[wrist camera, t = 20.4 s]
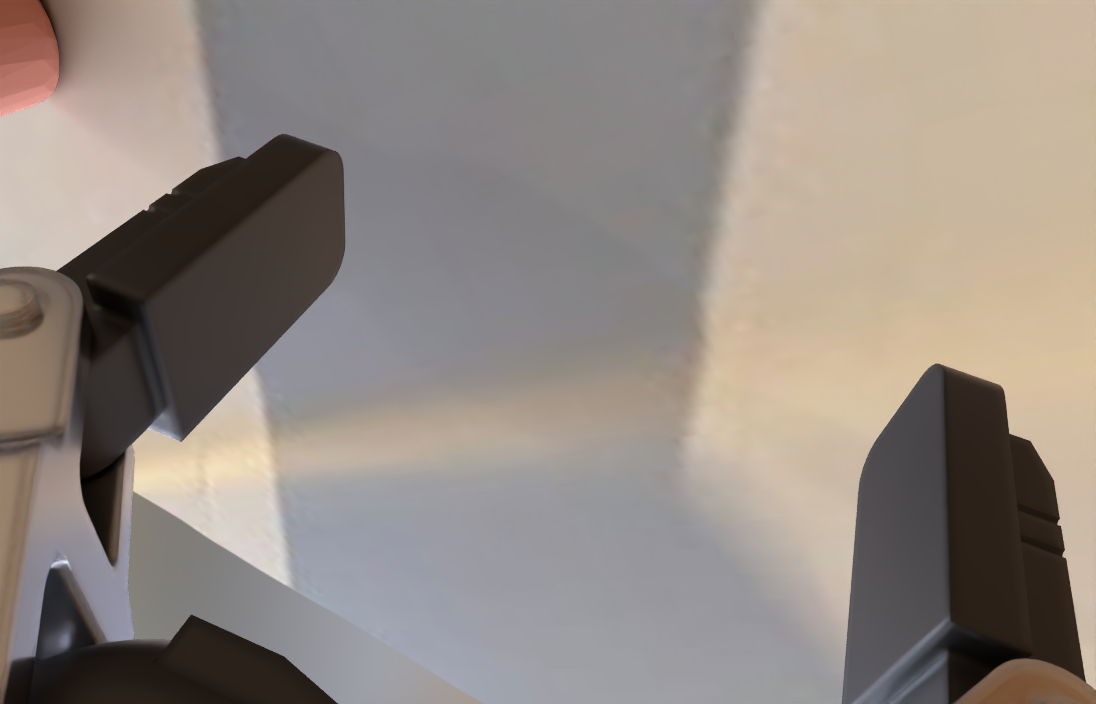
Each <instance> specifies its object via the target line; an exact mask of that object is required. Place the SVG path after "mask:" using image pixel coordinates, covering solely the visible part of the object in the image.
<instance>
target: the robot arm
mask: <svg viewBox="0 0 1096 704" xmlns="http://www.w3.org/2000/svg"><path fill="white" fill-rule="evenodd" d="M344 251H345V213H344V172H343V163H342V159H341V157H340V155H339V154H338V153H337V152H336V151H333V150H330V149H328V148H325V147H322V146H319V145H316V144H313V143H310V142H308V141H305V140H302V139H299V138H296V137H293V136H290V135H287V134H281V135H278V136H277V137H275V138H273V139H272V140H271V141H269V142H268V143H267V144H265V145H264V146H263V147H261V148H260V149H259V150H257V151H256V152H254V153H253V154H252V155H250V156H249V157H248V158H246V159H244V158H241V157H236V158H233V159H230V160H227V161H224V162H221V163H218V164H215V165H212V166H209V167H206V168H203V169H200V170H199V171H198V172H196V173H195V174H193V175H192V176H190V177H189V178H188V179H186V180H185V181H183V182H182V183H181V184H179V185H178V186H176V187H175V188H173V189H172V193H171V195H170V194H167V193H166V194H165V195H164V196H162V197H161V198H159V199H158V200H156V201H155V202H154V203H152V204H151V205H149V209H148V211H145V210H142V211H141V212H139V213H138V214H137V215H135V216H134V217H132V218H131V219H130V220H128V221H127V222H125V223H124V224H122V225H121V226H120V227H118V228H117V229H115V230H114V231H113V232H111V233H110V234H108V235H107V236H105V237H104V238H103V239H101V240H100V241H98V242H97V243H96V244H94V245H93V246H91V247H90V248H88V249H87V250H86V251H84V252H83V253H81V254H80V255H79V256H77V257H76V258H74V259H73V260H71V261H70V262H69V263H67V264H66V265H64V266H63V267H62V268H60V269H59V270H57V271H54V270H50V269H45V268H39V267H10V268H2V269H0V704H338V703H336V702H335V701H334V700H333V699H332V698H331V697H330V696H328V695H327V694H326V693H325V692H324V691H323V690H322V689H320V688H319V687H318V686H317V685H316V684H315V683H314V682H312V681H311V680H310V679H309V678H308V677H307V676H306V675H305V674H303V673H302V672H301V671H300V670H299V669H298V668H297V667H295V666H294V665H293V664H292V663H291V662H290V661H289V660H287V659H286V658H285V657H284V656H282V655H279V654H277V653H275V652H273V651H270V650H268V649H266V648H264V647H262V646H260V645H257V644H255V643H253V642H251V641H249V640H246V639H244V638H242V637H240V636H237V635H235V634H233V633H231V632H229V631H226V630H224V629H222V628H219V627H218V626H215V625H213V624H211V623H209V622H207V621H204V620H202V619H200V618H198V617H196V616H193V615H191V616H190V617H189V618H188V619H187V621H186V622H185V623H184V625H183V626H182V627H181V628H180V630H179V631H178V632H177V634H176V635H175V636H174V638H173V639H172V640H165V639H134V626H133V619H132V613H131V608H130V602H129V594H128V568H129V551H130V532H131V516H132V515H131V514H132V498H133V481H134V463H135V456H134V450H133V447H132V443H133V442H134V441H135V440H136V439H137V438H138V437H139V436H140V435H141V434H142V433H143V432H144V431H145V430H146V429H147V428H149V429H152V430H154V431H156V432H159V433H161V434H164V435H166V436H168V437H171V438H173V439H176V440H178V441H180V442H182V441H183V440H184V439H185V438H186V436H187V435H188V434H189V433H190V432H191V431H192V430H193V429H194V428H195V427H196V426H197V425H198V424H199V423H200V422H201V421H202V420H203V419H204V417H205V416H206V415H207V414H208V413H209V412H210V411H211V410H212V409H213V408H214V407H215V406H216V405H217V404H218V403H219V402H220V401H221V400H222V398H223V397H224V396H225V395H226V394H227V393H228V392H229V391H230V390H231V389H232V388H233V387H234V386H235V385H236V384H237V383H238V382H239V381H240V380H241V378H242V377H243V376H244V375H245V374H246V373H247V372H248V371H249V370H250V369H251V368H252V367H253V366H254V365H255V364H256V363H257V362H258V361H259V359H260V358H261V357H262V356H263V355H264V354H265V353H266V352H267V351H268V350H269V349H270V348H271V347H272V346H273V345H274V344H275V343H276V342H277V340H278V339H279V338H280V337H281V336H282V335H283V334H284V333H285V332H286V331H287V330H288V329H289V328H290V327H291V326H292V325H293V324H294V323H295V321H296V320H297V319H298V318H299V317H300V316H301V315H302V314H303V313H304V312H305V311H306V310H307V309H308V308H309V307H310V306H311V305H312V304H313V302H314V301H315V300H316V299H317V298H318V297H319V296H320V295H321V294H322V293H323V292H324V291H325V290H326V289H327V288H328V287H329V285H330V284H331V283H332V281H333V280H334V278H335V277H336V275H337V273H338V271H339V269H340V266H341V263H342V260H343V256H344ZM1059 519H1060V517H1059V511H1058V504H1057V498H1056V492H1055V485H1054V480H1053V478H1052V477H1051V475H1050V473H1049V472H1048V470H1047V468H1046V467H1045V465H1044V463H1043V462H1042V460H1041V458H1040V456H1039V455H1038V453H1037V451H1036V450H1035V448H1034V446H1033V445H1032V443H1031V441H1028V440H1026V439H1023V438H1020V437H1017V436H1014V435H1012V434H1009V428H1008V419H1007V410H1006V401H1005V394H1004V390H1003V388H1002V387H1001V386H1000V385H998V384H995V383H992V382H989V381H986V380H984V379H981V378H978V377H975V376H972V375H969V374H966V373H964V372H961V371H958V370H955V369H952V368H949V367H946V366H944V365H941V364H934V365H932V366H931V367H930V368H929V369H928V370H927V371H926V372H925V373H924V374H923V375H922V377H921V378H920V380H919V381H918V382H917V384H916V385H915V387H914V388H913V389H912V391H911V392H910V394H909V395H908V396H907V398H906V399H905V401H904V402H903V403H902V405H901V406H900V408H899V409H898V410H897V412H896V413H895V415H894V416H893V417H892V419H891V420H890V422H889V423H888V424H887V426H886V427H885V428H884V430H883V431H882V433H881V434H880V435H879V437H878V438H877V440H876V441H875V443H874V445H873V446H872V448H871V450H870V452H869V454H868V457H867V459H866V462H865V464H864V467H863V470H862V474H861V478H860V483H859V491H858V504H857V517H856V530H855V542H854V555H853V568H852V581H851V593H850V606H849V619H848V632H847V644H846V657H845V670H844V683H843V696H842V704H1096V690H1095V689H1093V688H1092V687H1091V686H1090V685H1088V684H1087V683H1086V680H1085V675H1084V668H1083V662H1082V656H1081V650H1080V643H1079V637H1078V631H1077V624H1076V618H1075V612H1074V605H1073V599H1072V593H1071V586H1070V580H1069V574H1068V567H1067V561H1066V558H1063V557H1062V554H1063V552H1064V551H1065V548H1064V542H1063V536H1062V529H1061V526H1059V525H1057V523H1058V520H1059Z"/></svg>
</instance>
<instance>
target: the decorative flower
mask: <svg viewBox="0 0 1096 704" xmlns="http://www.w3.org/2000/svg"><path fill="white" fill-rule="evenodd" d="M58 79H59V51H58V45H57V40H56V37H55V34H54V32H53V29H52V26H51V23H50V20H49V18H48V16H47V14H46V12H45V10H44V8H43V7H42V5H41V3H40V1H39V0H0V117H1V116H4V115H7V114H10V113H13V112H16V111H19V110H22V109H25V108H28V107H31V106H33V105H35V104H38V103H40V102H42V101H44V100H45V99H46V98H47V97H49V96H50V95H51V94H52V93H53V92H54V90H55V88H56V85H57V82H58Z"/></svg>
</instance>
